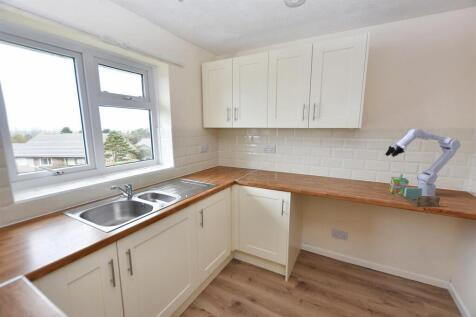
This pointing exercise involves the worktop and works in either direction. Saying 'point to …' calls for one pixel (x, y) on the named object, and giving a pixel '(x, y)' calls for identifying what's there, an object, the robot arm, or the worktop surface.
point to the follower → (413, 193)
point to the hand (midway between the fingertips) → (389, 155)
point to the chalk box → (398, 185)
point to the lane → (421, 200)
